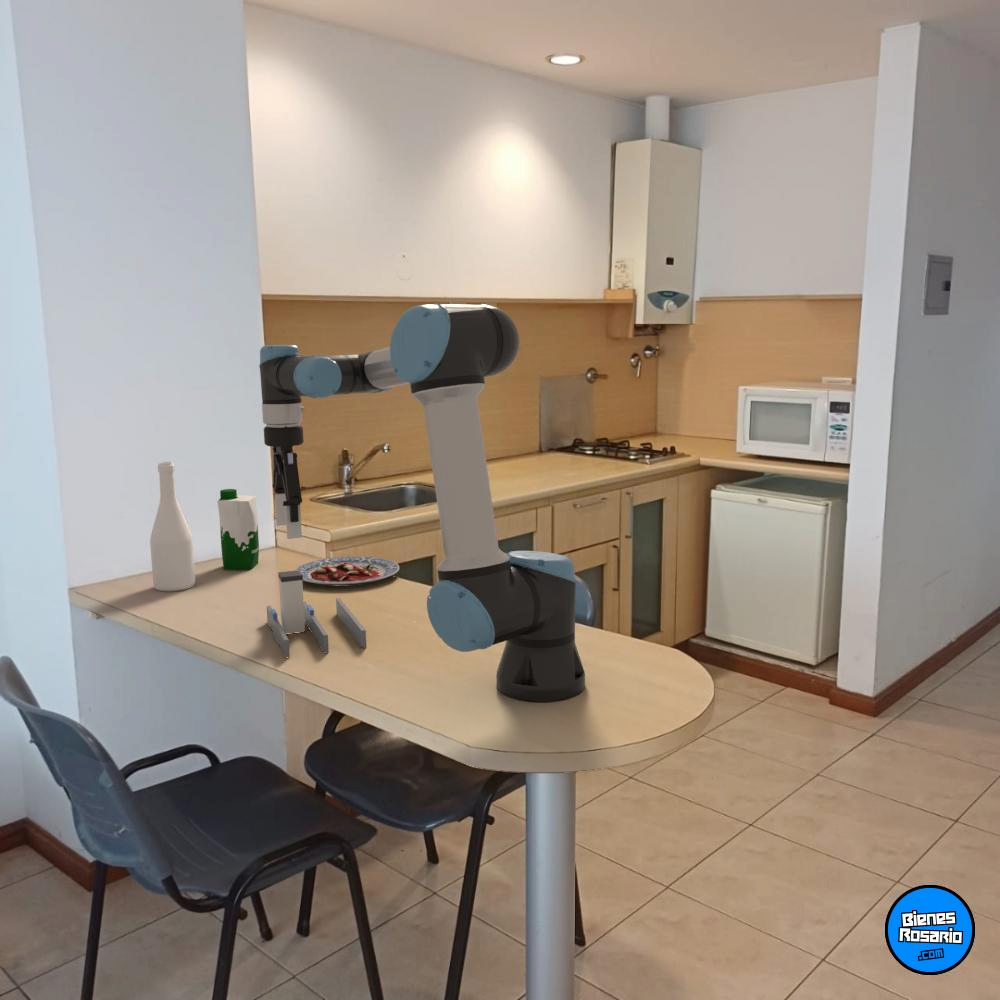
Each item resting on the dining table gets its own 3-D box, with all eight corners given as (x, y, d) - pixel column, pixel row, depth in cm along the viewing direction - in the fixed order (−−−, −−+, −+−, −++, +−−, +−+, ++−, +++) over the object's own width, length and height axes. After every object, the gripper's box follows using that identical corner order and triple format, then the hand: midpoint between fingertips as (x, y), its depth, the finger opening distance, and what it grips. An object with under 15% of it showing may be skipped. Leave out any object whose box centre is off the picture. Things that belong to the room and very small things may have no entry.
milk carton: (228, 562, 253) (224, 487, 250) (263, 562, 253) (258, 487, 250) (218, 571, 245) (213, 493, 241) (254, 570, 245) (249, 493, 241)
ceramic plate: (317, 598, 220) (317, 585, 220) (278, 574, 242) (278, 562, 241) (417, 581, 234) (417, 569, 233) (372, 560, 255) (372, 549, 255)
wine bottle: (151, 585, 232) (141, 461, 227) (192, 579, 236) (183, 458, 231) (156, 594, 224) (146, 466, 218) (199, 589, 228) (190, 463, 223)
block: (305, 632, 195) (302, 575, 193) (284, 635, 193) (281, 577, 191) (301, 626, 199) (299, 570, 197) (281, 629, 197) (278, 572, 195)
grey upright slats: (366, 647, 185) (365, 625, 185) (285, 658, 180) (284, 635, 179) (340, 613, 208) (339, 593, 207) (267, 622, 202) (266, 601, 201)
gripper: (314, 430, 178) (319, 542, 182) (292, 418, 201) (297, 518, 205) (273, 432, 176) (279, 545, 180) (255, 420, 199) (261, 521, 203)
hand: (288, 531), depth 192 cm, fingers open, 13 cm apart
